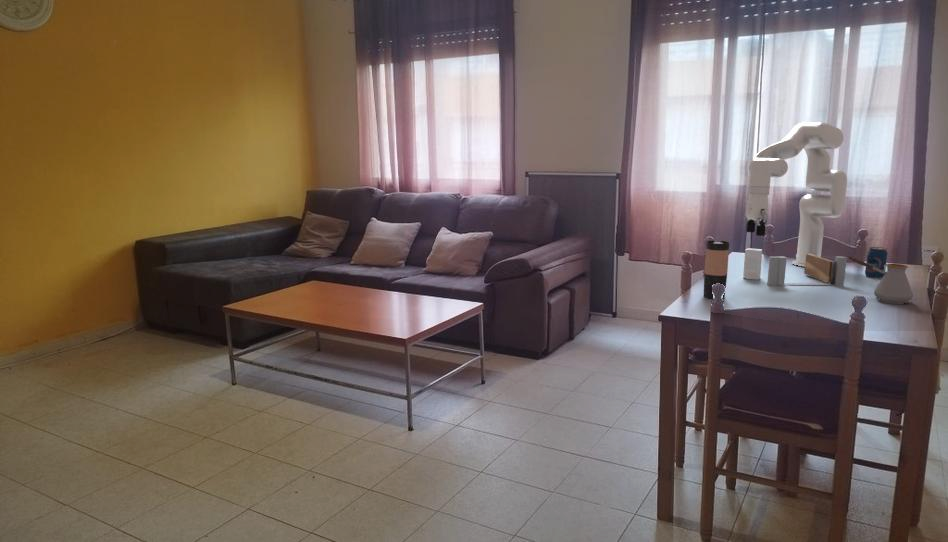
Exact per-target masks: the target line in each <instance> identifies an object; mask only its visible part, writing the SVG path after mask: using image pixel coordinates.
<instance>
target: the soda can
mask: <svg viewBox="0 0 948 542" xmlns="http://www.w3.org/2000/svg"><path fill="white" fill-rule="evenodd" d="M887 259H888V251H887V248H885V247H880V246H869V249H868V250H867V254H866V261H865V263H867V264H869V265H871V266H873V267H875V268H877V269H880V270H882V271H885V272H886V270H887V269H886V268H887V266H886V264H887V261H888V260H887ZM864 269H865V270H864V274H865V277H867V278H869V277H870V279H882V278H883V277H884V275H885V274H883V273H880V272H878V271H876V270H874V269H871V268H868V267H866V266H865V268H864Z"/></svg>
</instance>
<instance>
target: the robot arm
mask: <svg viewBox="0 0 948 542" xmlns="http://www.w3.org/2000/svg"><path fill="white" fill-rule="evenodd" d="M843 142H844V133H843V130H841V129H840V128H839V127H838V126H837V127H836V126H835V125H832V124H829V123H827V122H819V121H817V122H801V123H798V124H796V125H794V126H793V127H792V129H791V130H790V131H789V132H788V133H787V134H786V135H785V137H784V138H782V140H781V141H778V142H775V143H773V144H771V145H769V146H767V147H765V148H763V149H761V150H759V151H758V153H757V154H755V156H753V158H752V159H751V161H750V162H749V166H748V171H749V180H748V181H749V183H748V196H747V201H746V210H745V217H746V232H747V233H755V235H756V236H757V237H761V236H762V237H764V236H765V235H766V226H767V222H768V221H767V220H768V208H769V206H768V205H769V203H768V202H769V198H768V197H769V195H770V189H771V187H770V186H771V178H774V179H775V178H781V177H784V176H785V175H786V174H787V172H788V170H789V165H788V162H787V161H786V160H789V159H792V158H795V157H797V156H798V155H799V154H800V153H801V152H802V150H804V151H805V153H806V155H807V167H806V176H805V186H806V189H808V190H809V191H814V192H825V193H830V195H829V194H821V193H820V194H818V193H817V194H816V193H815V194H814V193H810V194H808V193H807V194H805V195H803V196H802V197H801V198H800V200H799V204H798V205H799V206H798V207H799V218H800V219H799V230H798V241H797V249H796V251H797V253H796V254H795V260H793V261H792V265H793V264H794V265H793V266H796V265H798V266H797V267H801V266H802V268H805V261H806V254H812V255H815V256H818V257H821V256H822V247H823V239H824V229H825V227H824V226H825V225H824V222H823V221H822V219H821V218H832V219H833V218H834V219H835V218H839V217H841V215H843V213H844V209H845V203H846V197H847V196H846V195H847V188H848V177H847V174H846V172H845V171H843V170H841V169H831V168H830V164H831V157H830V154H829V152H828V150H836V149H838V148H840V147H841V146H842V145H843ZM756 223H757V225H756ZM755 231H756V232H755Z"/></svg>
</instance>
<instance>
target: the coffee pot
mask: <svg viewBox="0 0 948 542" xmlns="http://www.w3.org/2000/svg"><path fill="white" fill-rule="evenodd" d="M846 258H847V259H846V261H845V262H846V263H847V262H848V261H849V260H850V261H851V260H852V262H853V263H857V264H859V265H861V266H864V267H865V268H866V267H868V268H871V269H874V270H876V271H878V272H880V273H883V274H885V275H884V277H883V278H881V280H880V281H879V283H878V284H877V286H876V287H875V289H874V291H873V294H874V296H875V297H876V298H877V299H880V300H879V302H882V303H885V304H891V305H904V303H905V304H906V303H907V302H909V301H911V300H912V299H913V297H914V294H913V292H912V291H913V290H912V288H911V285H910V281H909V279H908V277H907V274H906V271H907V269H908V268H909V266H908V265H905V264H902V263H901V264H900V263H886V268H887V269H886V270H885V271H882V270H880V269H877V268H875V267H873V266H871V265H869V264H867V263H866V261H865V262H864V261H862V260H859V259H857V258H853V257H852V256H847V257H846Z"/></svg>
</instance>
